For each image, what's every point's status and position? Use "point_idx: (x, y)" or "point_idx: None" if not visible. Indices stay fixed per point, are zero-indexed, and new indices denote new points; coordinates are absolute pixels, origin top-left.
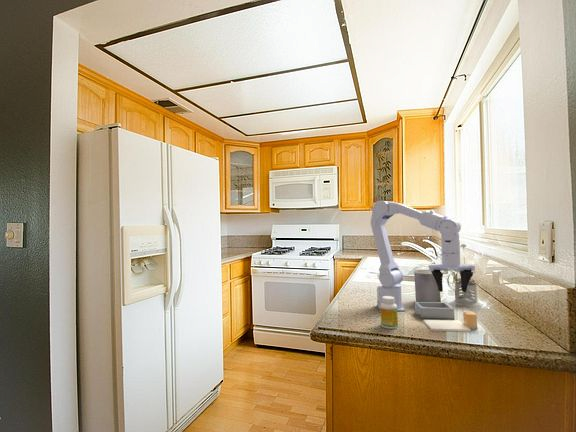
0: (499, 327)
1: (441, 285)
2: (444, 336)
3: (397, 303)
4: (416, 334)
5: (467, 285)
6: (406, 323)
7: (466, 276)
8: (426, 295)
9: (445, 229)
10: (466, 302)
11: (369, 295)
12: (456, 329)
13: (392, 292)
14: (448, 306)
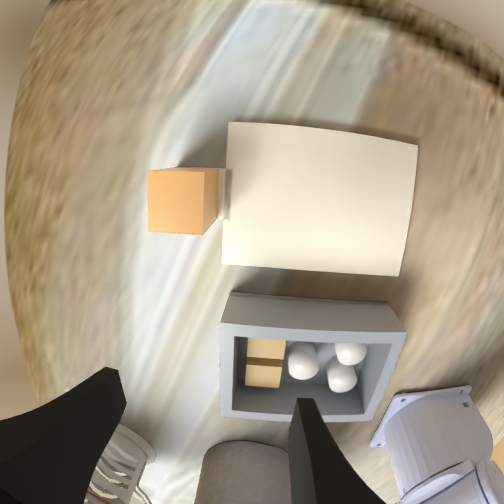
0: (82, 193)
1: (316, 436)
2: (384, 70)
3: (425, 416)
4: (478, 112)
5: (66, 392)
6: (470, 245)
7: (20, 446)
8: (267, 478)
9: None
10: (118, 436)
11: (395, 494)
12: (300, 127)
13: (458, 446)
14: (233, 363)
